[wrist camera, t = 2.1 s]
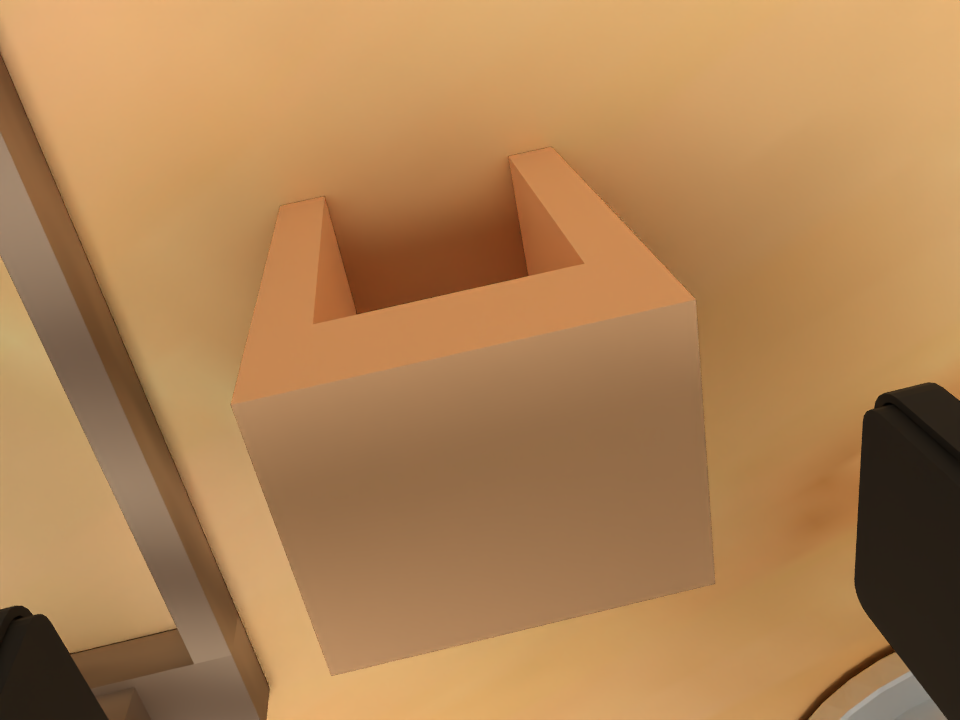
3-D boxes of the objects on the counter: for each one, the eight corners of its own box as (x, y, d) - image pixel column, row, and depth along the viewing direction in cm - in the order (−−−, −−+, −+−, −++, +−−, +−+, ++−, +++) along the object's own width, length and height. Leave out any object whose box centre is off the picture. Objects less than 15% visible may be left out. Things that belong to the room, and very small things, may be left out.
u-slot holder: (579, 342, 22) (714, 584, 14) (337, 396, 21) (331, 676, 13) (551, 146, 19) (696, 299, 11) (279, 205, 19) (231, 405, 11)
